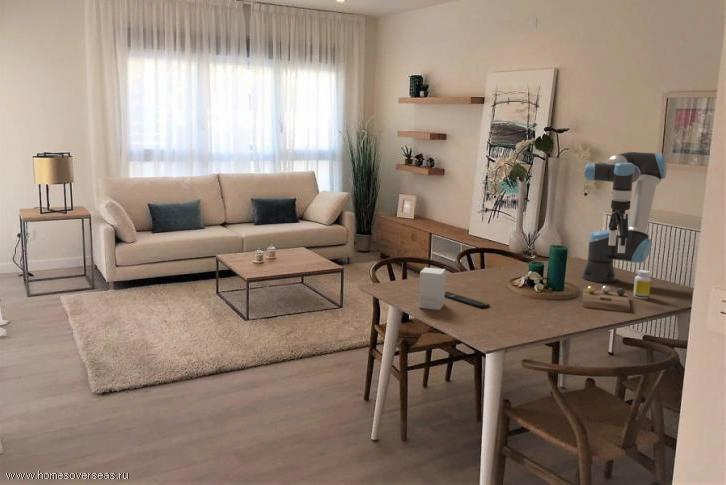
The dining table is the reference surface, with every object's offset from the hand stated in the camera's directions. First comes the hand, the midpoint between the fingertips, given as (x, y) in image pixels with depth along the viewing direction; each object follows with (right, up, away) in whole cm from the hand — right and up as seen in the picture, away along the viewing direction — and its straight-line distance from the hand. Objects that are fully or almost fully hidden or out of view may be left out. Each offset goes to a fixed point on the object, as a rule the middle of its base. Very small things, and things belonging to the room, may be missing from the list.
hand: (616, 249), depth 273 cm
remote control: (-66, -22, -5) cm, 70 cm away
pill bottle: (+13, -21, +5) cm, 25 cm away
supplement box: (-80, -23, -13) cm, 85 cm away
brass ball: (-11, -17, 0) cm, 21 cm away
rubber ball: (+1, -18, -2) cm, 18 cm away
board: (-6, -22, -4) cm, 24 cm away
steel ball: (-4, -17, +1) cm, 18 cm away
